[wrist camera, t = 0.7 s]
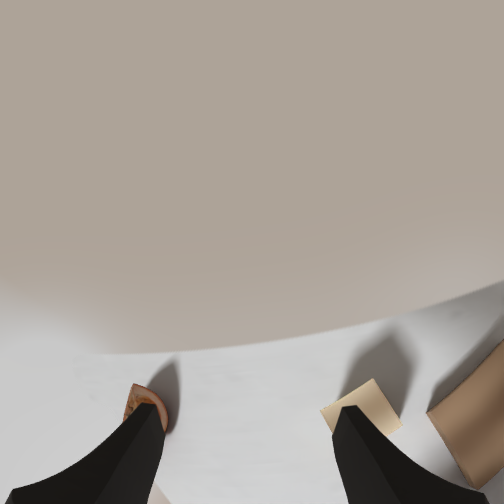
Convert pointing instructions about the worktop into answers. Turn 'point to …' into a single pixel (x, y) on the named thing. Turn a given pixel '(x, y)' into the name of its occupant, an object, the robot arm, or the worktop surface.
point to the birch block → (366, 408)
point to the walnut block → (475, 420)
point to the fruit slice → (146, 396)
